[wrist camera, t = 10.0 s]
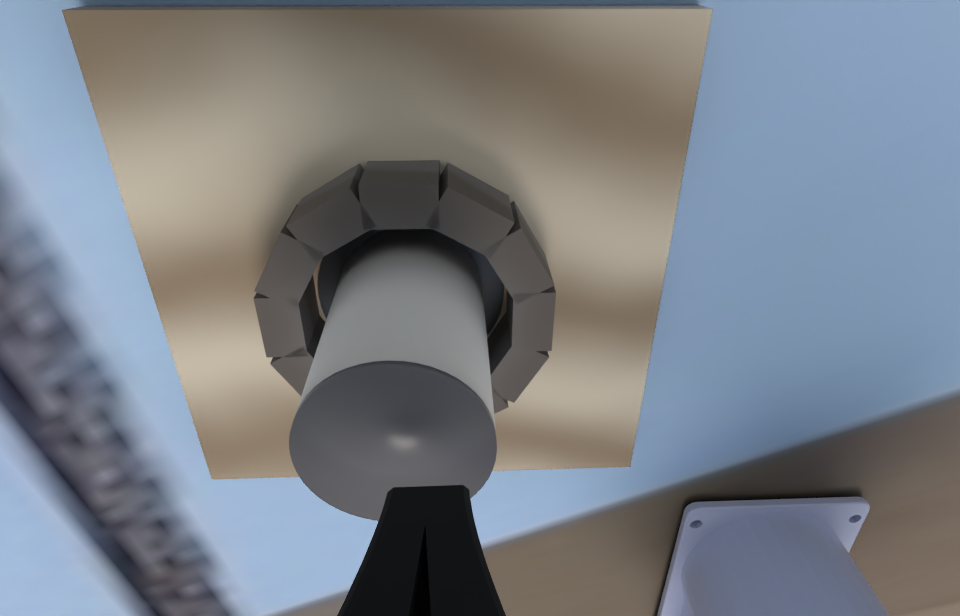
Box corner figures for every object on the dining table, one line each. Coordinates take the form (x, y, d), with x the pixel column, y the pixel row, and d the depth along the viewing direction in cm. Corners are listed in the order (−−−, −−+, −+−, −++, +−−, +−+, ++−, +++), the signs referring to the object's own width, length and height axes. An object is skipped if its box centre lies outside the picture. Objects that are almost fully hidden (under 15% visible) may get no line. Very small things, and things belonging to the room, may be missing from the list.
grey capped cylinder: (481, 348, 20) (494, 519, 14) (347, 349, 20) (304, 523, 14) (483, 225, 18) (500, 367, 12) (333, 226, 18) (272, 371, 12)
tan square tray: (623, 448, 24) (644, 507, 22) (220, 460, 24) (192, 522, 21) (698, 5, 16) (746, 17, 14) (83, 6, 16) (10, 18, 13)
